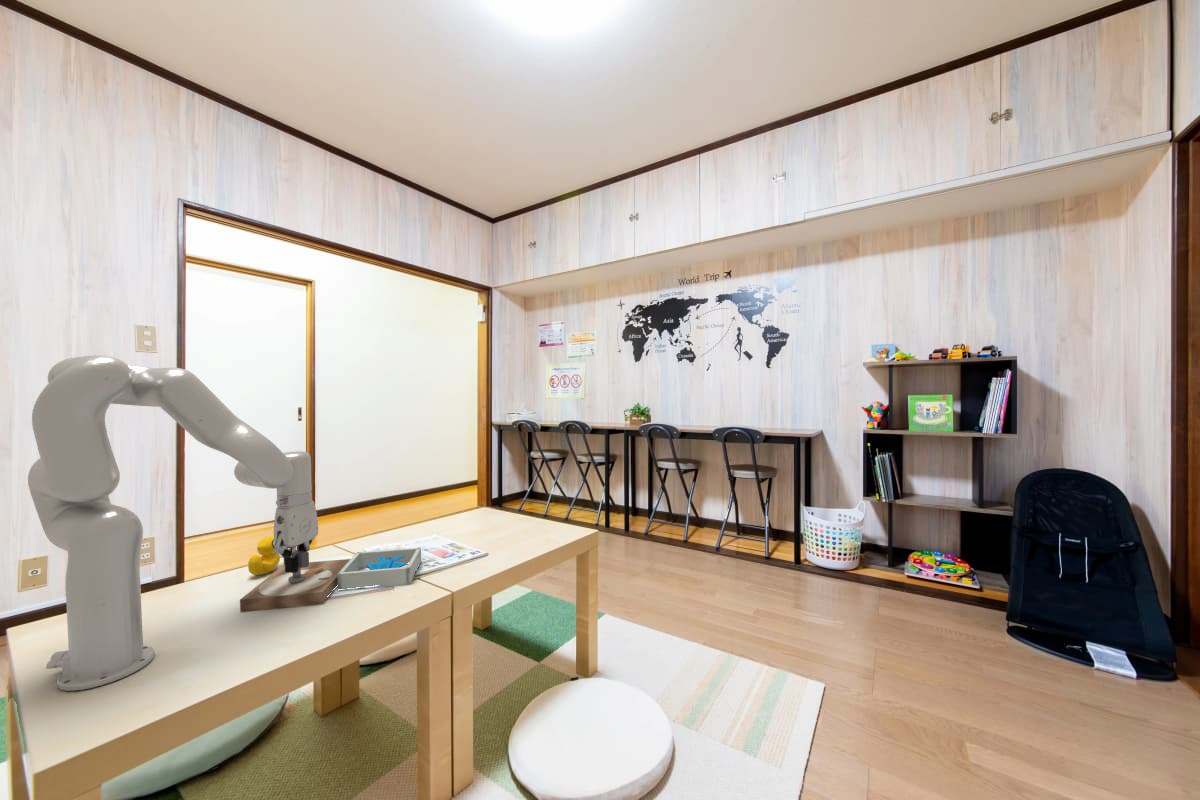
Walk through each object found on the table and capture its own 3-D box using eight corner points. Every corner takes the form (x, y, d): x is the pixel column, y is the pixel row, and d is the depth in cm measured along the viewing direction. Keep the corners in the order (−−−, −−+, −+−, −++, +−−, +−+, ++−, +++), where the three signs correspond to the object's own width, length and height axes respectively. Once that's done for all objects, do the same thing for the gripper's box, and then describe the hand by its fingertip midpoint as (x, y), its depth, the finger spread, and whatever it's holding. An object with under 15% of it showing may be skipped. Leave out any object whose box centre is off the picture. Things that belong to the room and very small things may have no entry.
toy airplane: (364, 573, 131) (364, 559, 131) (400, 564, 137) (399, 550, 137) (374, 587, 122) (373, 572, 122) (411, 576, 128) (411, 562, 128)
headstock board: (240, 611, 108) (239, 598, 108) (284, 574, 130) (284, 563, 130) (322, 603, 112) (322, 590, 112) (352, 568, 134) (352, 557, 133)
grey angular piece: (299, 584, 115) (298, 555, 115) (280, 580, 117) (279, 552, 117) (331, 571, 123) (330, 544, 123) (313, 567, 126) (312, 541, 126)
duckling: (272, 564, 138) (271, 531, 137) (290, 564, 137) (289, 531, 137) (242, 580, 126) (240, 545, 126) (260, 580, 126) (259, 545, 126)
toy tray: (337, 591, 119) (337, 574, 119) (357, 567, 135) (357, 552, 135) (410, 584, 123) (409, 568, 123) (421, 561, 138) (420, 547, 138)
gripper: (282, 508, 109) (284, 583, 109) (330, 492, 125) (332, 558, 125) (254, 507, 110) (256, 582, 110) (305, 491, 126) (307, 557, 126)
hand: (296, 568), depth 118 cm, fingers closed on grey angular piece, 2 cm apart
